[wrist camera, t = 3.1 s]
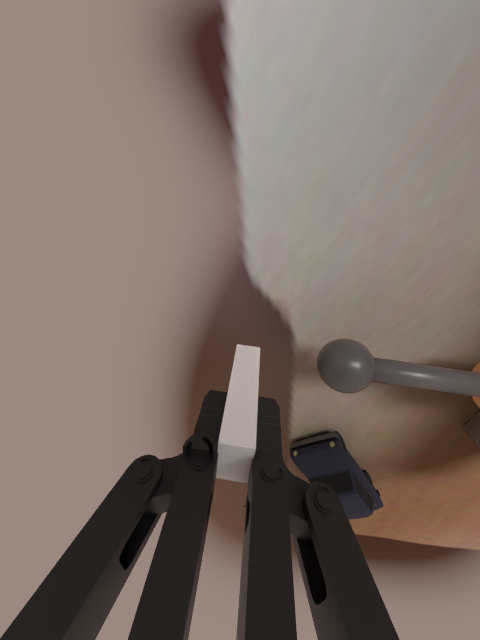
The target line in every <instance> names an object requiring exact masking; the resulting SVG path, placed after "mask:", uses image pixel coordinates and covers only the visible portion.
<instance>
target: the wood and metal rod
mask: <svg viewBox="0 0 480 640" xmlns="http://www.w3.org/2000/svg"><path fill="white" fill-rule="evenodd" d="M317 370H318V373H319V375H320V377H321V379H322V380H323V381H324V383H325V384H326V385H328V386H329V387H330V388H332V389H334V390H336V391H339V392H342V393H355V392H359V391H361V390H363V389H365V388H366V387H367V386H369V384H370V383H371V382H379V383H386V384H393V385H400V386H406V387H413V388H420V389H427V390H434V391H440V392H447V393H454V394H461V395H468V396H472V398H473V400H474V402H475V403H476V404H477V406H478V407H479V408H480V363H478V364H477V365H476V366H475V367H474V369H473V370H472V371H465V370H458V369H451V368H444V367H437V366H430V365H423V364H416V363H409V362H402V361H395V360H388V359H381V358H374V357H373V356H372V354H371V352H370V351H369V350H368V349H367V348H366V347H365V346H364V345H362V344H361V343H359V342H357V341H354V340H351V339H337V340H333V341H331V342H329V343H328V344H326V345H325V346H324V347H323V348H322V349H321V351H320V353H319V355H318V358H317Z"/></svg>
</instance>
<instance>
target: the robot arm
mask: <svg viewBox="0 0 480 640" xmlns="http://www.w3.org/2000/svg"><path fill="white" fill-rule="evenodd" d="M259 361H260V347H253V346H245V345H238V344H237V347H236V353H235V358H234V364H233V368H232V373H231V379H230V384H229V389H228V393H227V392H221V391H214V390H210V391H209V392H208V394H207V395H206V396H205V397H204V401H203V404H202V408H201V411H200V415H199V418H198V421H197V424H196V427H195V431H194V434H193V436H191V437H190V438H189V439H187V440H186V442H185V444H184V445H183V453H182V454H180V455H178V456H175V457H172V458H167V459H161V460H159V459H158V458H157V457H156V456H153V455H144V456H141V457H140V458H138V459H136V460H135V461H134V462H133V463H132V464H131V465H130V466H129V467H128V468H127V470H126V471H125V473H124V474H123V475H122V476H121V478H120V479H119V480H118V482H117V483H116V484H115V486H114V487H113V488H112V490H111V491H110V492H109V494H108V495H107V496H106V498H105V499H104V501H103V502H102V503H101V505H100V506H99V507H98V509H97V510H96V511H95V513H94V514H93V515H92V517H91V518H90V519H89V521H88V522H87V523H86V525H85V526H84V527H83V529H82V530H81V531H80V533H79V534H78V535H77V537H76V538H75V539H74V541H73V542H72V543H71V545H70V546H69V547H68V549H67V550H66V551H65V553H64V554H63V555H62V557H61V558H60V559H59V561H58V562H57V563H56V565H55V566H54V568H53V569H52V570H51V572H50V573H49V574H48V575H47V577H46V578H45V579H44V581H43V582H42V584H41V585H40V586H39V588H38V589H37V590H36V592H35V593H34V594H33V596H32V597H31V598H30V600H29V601H28V602H27V604H26V605H25V606H24V608H23V609H22V610H21V612H20V613H19V615H18V616H17V617H16V618H15V620H14V621H13V622H12V624H11V625H10V626H9V628H8V629H7V630H6V632H5V633H4V634H3V636H2V637H1V638H0V640H95V639H96V637H97V635H98V633H99V631H100V629H101V627H102V626H103V623H104V621H105V620H106V618H107V616H108V614H109V612H110V610H111V609H112V607H113V605H114V603H115V601H116V599H117V597H118V595H119V594H120V591H121V589H122V588H123V586H124V584H125V582H126V580H127V579H128V577H129V574H130V573H131V571H132V569H133V567H134V565H135V563H136V562H137V560H138V558H139V556H140V554H141V552H142V550H143V548H144V547H145V545H146V543H147V541H148V539H149V537H150V535H151V533H152V531H153V529H154V528H155V526H156V524H157V522H158V520H159V518H160V516H161V515H162V513H164V512H167V514H166V517H165V520H164V523H163V527H162V530H161V534H160V537H159V540H158V543H157V547H156V550H155V553H154V556H153V559H152V562H151V566H150V569H149V572H148V575H147V579H146V582H145V586H144V589H143V592H142V595H141V598H140V602H139V605H138V608H137V611H136V615H135V618H134V622H133V624H132V628H131V631H130V634H129V638H128V640H188V636H189V631H190V625H191V619H192V613H193V608H194V602H195V596H196V590H197V584H198V579H199V573H200V567H201V562H202V556H203V550H204V544H205V538H206V533H207V527H208V521H209V515H210V510H211V503H212V498H213V491H214V484H215V478H220V479H226V480H231V481H237V482H243V483H248V494H247V498H246V502H245V506H244V507H246V509H245V523H244V524H245V525H244V538H243V554H242V567H241V581H240V595H239V610H238V625H237V639H236V640H297V632H296V617H295V602H294V588H293V571H292V557H291V541H290V534H292V536H293V541H294V545H295V549H296V553H297V557H298V561H299V565H300V569H301V573H302V577H303V581H304V585H305V589H306V593H307V597H308V601H309V605H310V609H311V613H312V617H313V621H314V625H315V630H316V634H317V637H318V640H399V638H398V635H397V633H396V631H395V628H394V626H393V624H392V621H391V619H390V617H389V614H388V612H387V609H386V607H385V605H384V602H383V600H382V598H381V595H380V593H379V591H378V589H377V586H376V584H375V581H374V579H373V577H372V574H371V572H370V570H369V567H368V565H367V563H366V560H365V558H364V555H363V553H362V551H361V548H360V546H359V544H358V542H357V539H356V537H355V534H354V532H353V530H352V527H351V525H350V523H349V520H348V518H347V516H346V513H345V511H344V509H343V506H342V504H341V501H340V499H339V498H338V496H337V494H336V492H335V491H334V490H333V489H332V488H331V487H330V486H328V485H327V484H325V483H323V482H313V483H311V484H309V483H307V482H305V481H304V480H302V479H300V478H298V477H296V476H295V475H293V474H292V473H291V472H290V471H289V470H288V469H287V467H286V465H285V463H284V461H283V457H282V445H281V427H280V409H279V406H278V404H277V402H276V400H275V399H271V398H264V397H258V386H259V363H260V362H259Z"/></svg>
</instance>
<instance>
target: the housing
mask: <svg viewBox="0 0 480 640" xmlns="http://www.w3.org/2000/svg"><path fill="white" fill-rule="evenodd" d="M463 429H464V430H465V431H466V432H467V434H468V435H469V436H470V437H471V439H472V440H473V441H474V442H475V444H476V445H477V446H478V447H479V449H480V410H479V411H478V412H477V413H476V414H475V415H474V416H473V417H472V418H471V419H470V420H469V421H468V422H467V423H466V424H465V425H464V426H463Z"/></svg>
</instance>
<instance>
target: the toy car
mask: <svg viewBox="0 0 480 640" xmlns="http://www.w3.org/2000/svg"><path fill="white" fill-rule="evenodd" d="M290 456H291V458H292V460H293V461H294V463H295V464H296V466H297V467H298V468H299V469H300V470H301V471H302V472H303V473H304V474H305V475H306V477H307V478H308V480H309V481H310V483H313V482H323V483H325V484H327V485H328V486H330V487H331V488H332V489H333V490H334V491H335V492H336V494H337V496H338V498H339V499H340V501H341V504H342V506H343V509H344V511H345V513H346V516H347V518H348V519H359V518H364V517H369V516H370V515H372V514H373V512H374V510H377V509H379V508H382V507H383V503H382V500H381V499H380V497H379V496H380V494H379V492H378V490H376V489H375V488H374V486H373V484H372V481H371V478H370V476H369V474H368V473H367V471H366V470H362V469H361V468H360V467H359V465H358V464H357V463H356V461H355V460H354V459H353V457H352V456H351V455H350V453H349V452H348V451H347V449H346V447H345V443H344V441H343V438H342V437H341V436H340V434H339V432H338V431H336V432H334V433H328V434H324V435H320V436H315V437H311V438H308V439H304V440H301V441H298V442H295V443H292V444H291V445H290Z"/></svg>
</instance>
